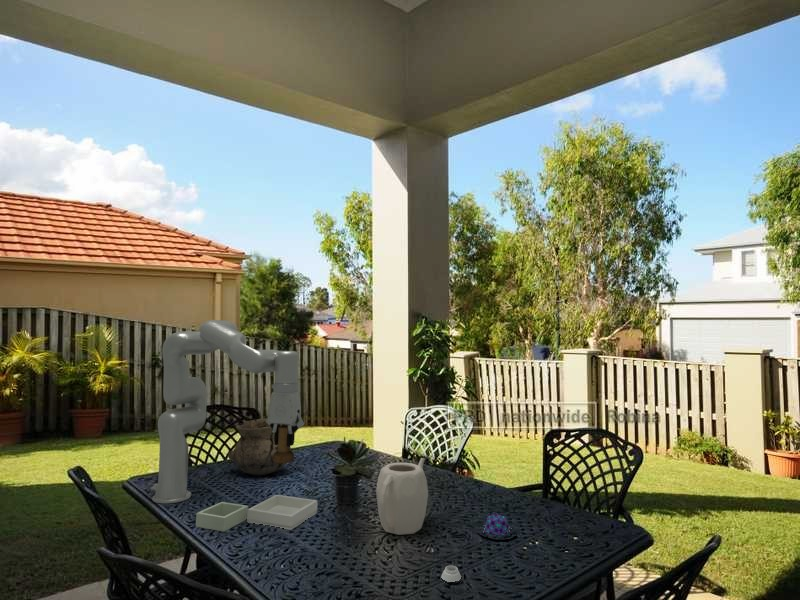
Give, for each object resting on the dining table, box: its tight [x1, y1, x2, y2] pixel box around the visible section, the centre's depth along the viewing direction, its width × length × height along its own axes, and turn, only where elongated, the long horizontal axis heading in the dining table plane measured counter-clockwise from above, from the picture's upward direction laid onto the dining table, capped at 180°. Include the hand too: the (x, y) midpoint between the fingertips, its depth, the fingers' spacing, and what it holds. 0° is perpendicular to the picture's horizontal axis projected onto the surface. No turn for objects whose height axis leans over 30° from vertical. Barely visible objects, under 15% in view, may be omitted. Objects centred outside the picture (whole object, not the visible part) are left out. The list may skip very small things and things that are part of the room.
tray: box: [246, 494, 318, 531], centre depth 163 cm, size 16×16×4 cm
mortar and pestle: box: [273, 424, 295, 464], centre depth 164 cm, size 7×6×18 cm
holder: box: [195, 501, 249, 532], centre depth 158 cm, size 10×12×4 cm
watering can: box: [375, 457, 429, 536], centre depth 156 cm, size 16×27×19 cm, turn 150°
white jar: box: [440, 565, 462, 582], centre depth 123 cm, size 5×3×5 cm
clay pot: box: [227, 417, 292, 476], centre depth 215 cm, size 25×24×22 cm
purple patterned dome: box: [483, 513, 510, 535], centre depth 152 cm, size 12×12×5 cm
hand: (284, 444), depth 164 cm, fingers closed on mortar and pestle, 4 cm apart
